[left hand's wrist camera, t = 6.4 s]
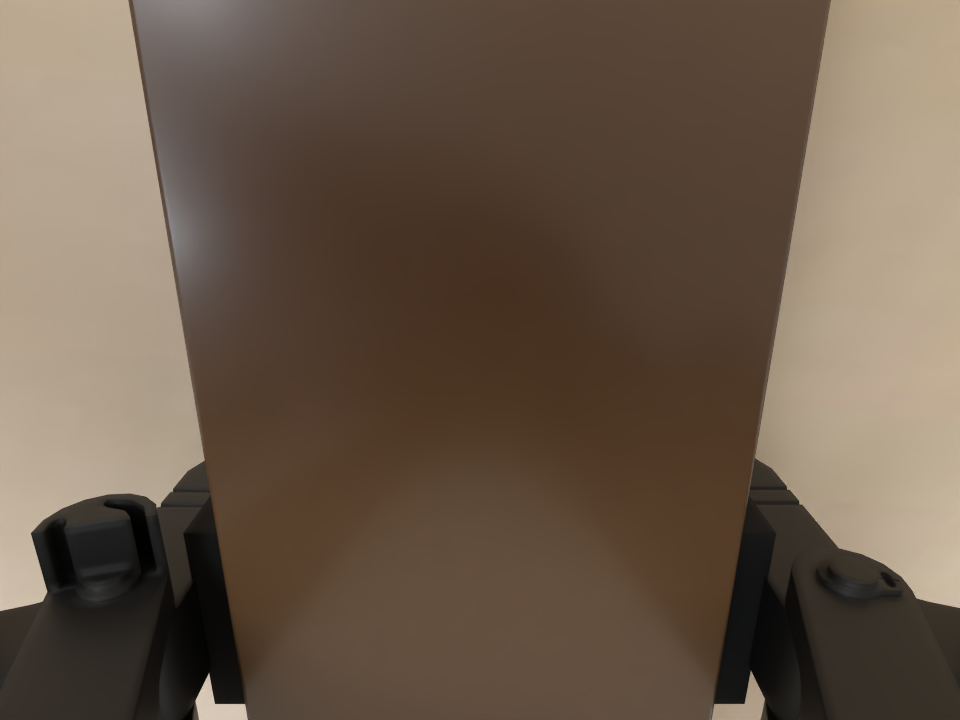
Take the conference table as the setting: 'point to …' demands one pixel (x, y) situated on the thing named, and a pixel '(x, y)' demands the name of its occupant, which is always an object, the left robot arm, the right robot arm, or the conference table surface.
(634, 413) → the beam
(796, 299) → the conference table surface
